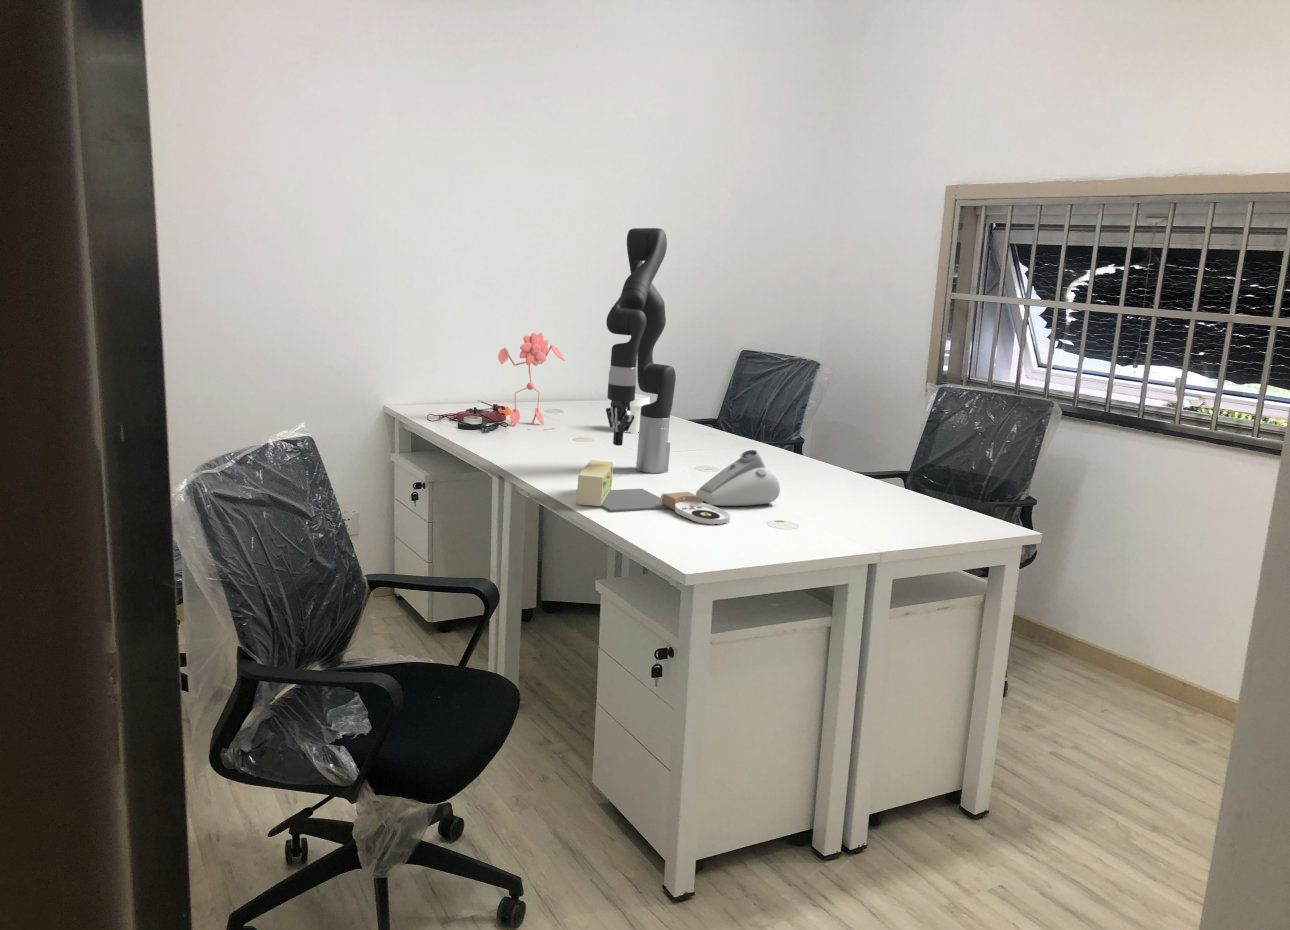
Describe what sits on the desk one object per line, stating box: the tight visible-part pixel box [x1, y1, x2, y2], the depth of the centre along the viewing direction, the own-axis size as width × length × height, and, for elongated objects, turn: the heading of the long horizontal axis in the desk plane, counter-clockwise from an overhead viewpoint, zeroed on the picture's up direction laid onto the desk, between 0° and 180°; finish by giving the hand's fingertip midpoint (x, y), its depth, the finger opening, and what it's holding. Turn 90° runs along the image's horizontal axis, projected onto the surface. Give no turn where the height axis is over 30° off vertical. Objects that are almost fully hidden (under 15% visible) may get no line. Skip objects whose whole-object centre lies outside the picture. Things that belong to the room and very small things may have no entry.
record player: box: [660, 490, 731, 525], centre depth 261 cm, size 12×3×20 cm
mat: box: [599, 488, 672, 513], centre depth 270 cm, size 20×20×1 cm
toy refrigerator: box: [576, 459, 614, 507], centre depth 269 cm, size 8×7×21 cm
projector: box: [695, 449, 781, 507], centre depth 279 cm, size 22×23×15 cm
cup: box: [626, 393, 651, 434], centre depth 377 cm, size 12×12×14 cm
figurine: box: [497, 332, 565, 431], centre depth 368 cm, size 15×26×35 cm, turn 125°
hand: (617, 444), depth 275 cm, fingers closed
